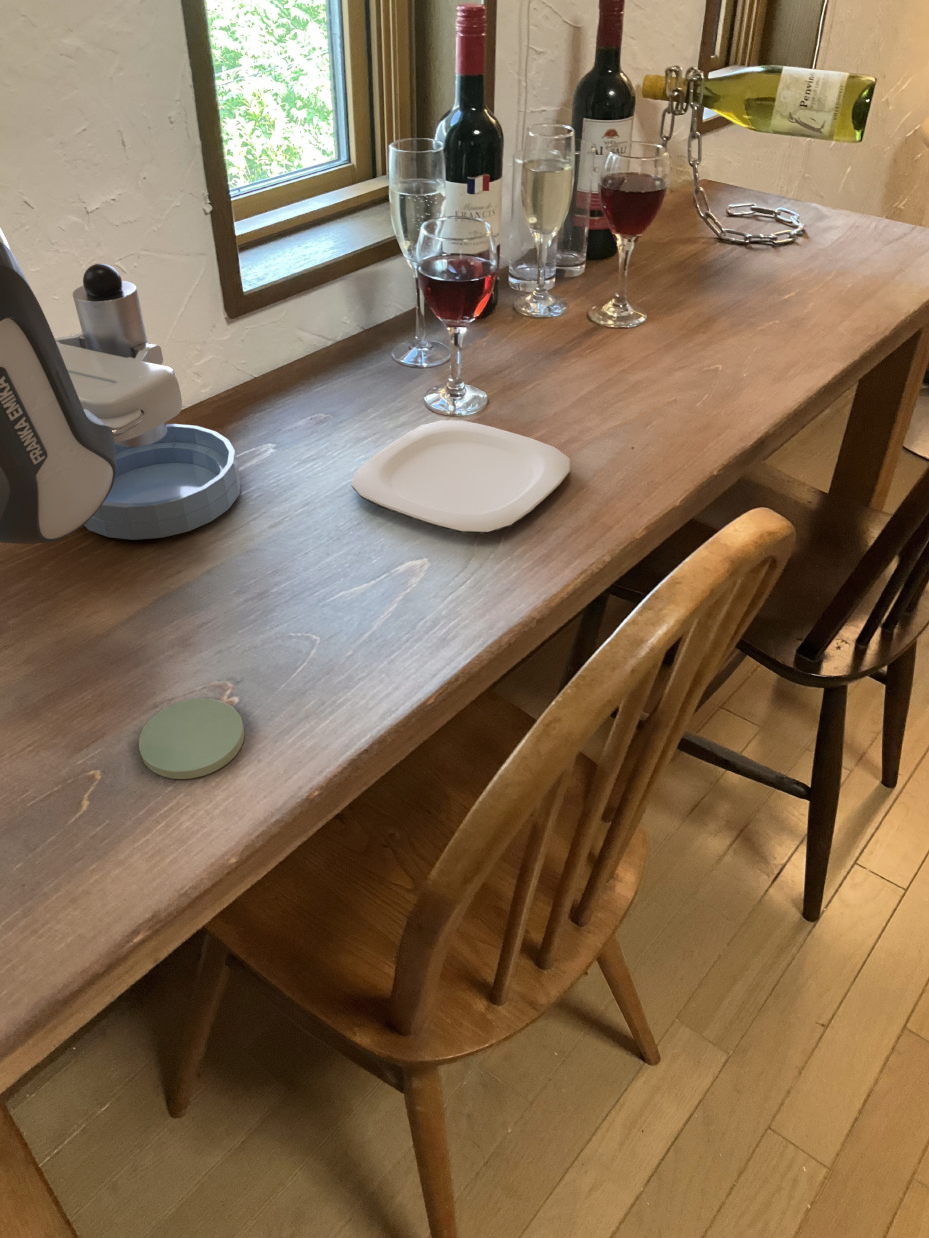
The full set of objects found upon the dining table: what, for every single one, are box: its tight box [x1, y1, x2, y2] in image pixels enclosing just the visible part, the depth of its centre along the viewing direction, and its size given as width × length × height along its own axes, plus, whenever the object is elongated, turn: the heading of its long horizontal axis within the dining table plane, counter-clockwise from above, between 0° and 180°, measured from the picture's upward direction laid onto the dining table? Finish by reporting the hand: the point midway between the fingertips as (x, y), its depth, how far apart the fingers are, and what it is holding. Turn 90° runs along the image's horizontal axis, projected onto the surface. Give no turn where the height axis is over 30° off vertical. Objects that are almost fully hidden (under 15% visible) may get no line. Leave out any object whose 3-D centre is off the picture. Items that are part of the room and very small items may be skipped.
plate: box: [350, 419, 571, 535], centre depth 92 cm, size 18×18×2 cm
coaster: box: [138, 697, 245, 780], centre depth 66 cm, size 7×7×1 cm
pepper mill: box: [72, 263, 167, 447], centre depth 82 cm, size 5×5×15 cm
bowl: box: [83, 423, 242, 541], centre depth 90 cm, size 15×15×4 cm
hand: (125, 345), depth 82 cm, fingers closed on pepper mill, 5 cm apart
